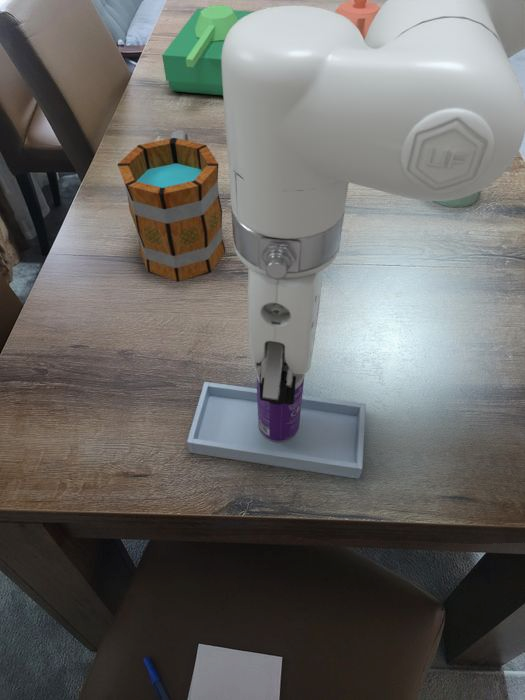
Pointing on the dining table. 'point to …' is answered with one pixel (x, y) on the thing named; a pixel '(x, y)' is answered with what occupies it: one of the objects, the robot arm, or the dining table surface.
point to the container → (280, 413)
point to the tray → (298, 453)
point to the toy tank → (200, 51)
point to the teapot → (359, 13)
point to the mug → (175, 206)
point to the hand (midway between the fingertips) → (281, 375)
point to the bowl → (460, 201)
